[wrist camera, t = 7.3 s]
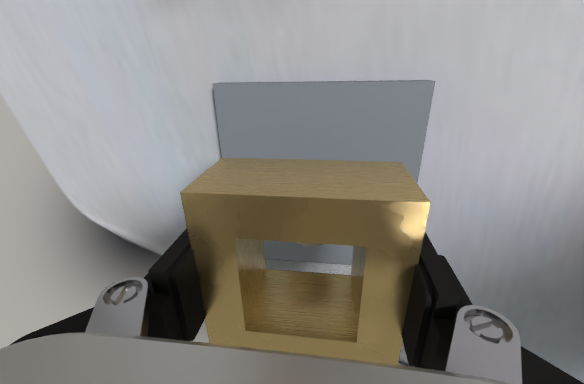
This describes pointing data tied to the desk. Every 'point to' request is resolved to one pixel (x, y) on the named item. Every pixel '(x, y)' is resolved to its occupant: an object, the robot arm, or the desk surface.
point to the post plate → (323, 132)
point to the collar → (307, 229)
